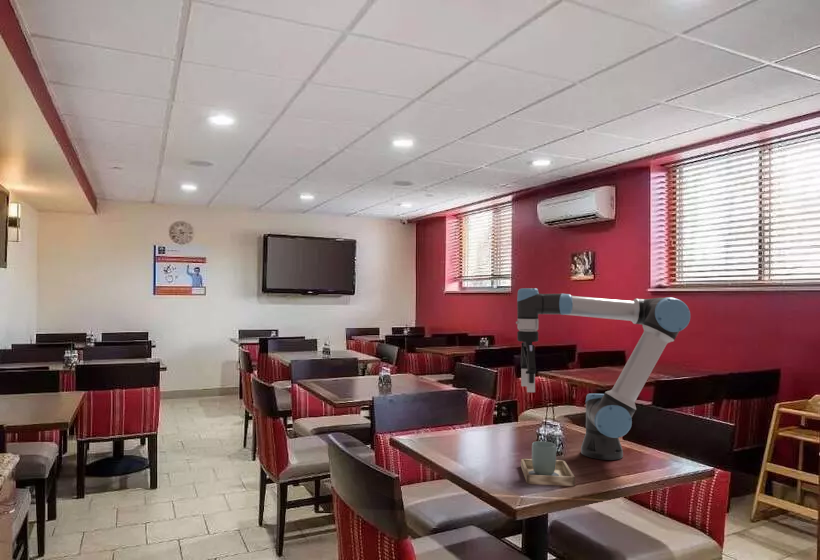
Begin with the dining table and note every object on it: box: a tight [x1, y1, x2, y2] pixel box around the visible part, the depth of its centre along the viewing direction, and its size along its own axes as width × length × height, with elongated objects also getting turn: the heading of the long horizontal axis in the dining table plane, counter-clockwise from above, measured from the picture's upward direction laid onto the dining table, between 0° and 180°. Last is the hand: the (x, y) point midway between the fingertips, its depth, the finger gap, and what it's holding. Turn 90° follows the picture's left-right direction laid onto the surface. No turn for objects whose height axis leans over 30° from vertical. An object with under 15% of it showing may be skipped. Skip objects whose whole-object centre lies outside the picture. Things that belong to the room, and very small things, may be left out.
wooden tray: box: [520, 458, 576, 487], centre depth 189 cm, size 15×19×3 cm
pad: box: [528, 470, 559, 476], centre depth 189 cm, size 10×10×1 cm
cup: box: [531, 440, 557, 476], centre depth 189 cm, size 8×8×10 cm
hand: (527, 389), depth 208 cm, fingers open, 13 cm apart
